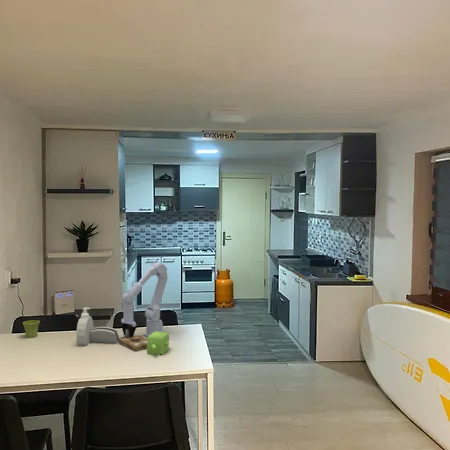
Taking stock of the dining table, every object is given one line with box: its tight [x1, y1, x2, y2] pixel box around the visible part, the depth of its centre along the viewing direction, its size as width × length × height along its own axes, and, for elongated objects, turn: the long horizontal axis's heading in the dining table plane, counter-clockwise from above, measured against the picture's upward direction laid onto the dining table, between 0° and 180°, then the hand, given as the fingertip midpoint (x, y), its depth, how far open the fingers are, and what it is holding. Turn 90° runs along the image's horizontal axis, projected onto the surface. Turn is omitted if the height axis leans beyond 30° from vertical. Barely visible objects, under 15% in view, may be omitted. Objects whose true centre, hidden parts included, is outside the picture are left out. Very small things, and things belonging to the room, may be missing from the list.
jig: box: [118, 335, 147, 352], centre depth 245 cm, size 13×18×3 cm
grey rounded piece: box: [90, 326, 121, 344], centre depth 251 cm, size 17×5×10 cm, turn 81°
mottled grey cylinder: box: [124, 328, 130, 339], centre depth 257 cm, size 4×4×6 cm
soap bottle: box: [75, 307, 95, 346], centre depth 250 cm, size 16×5×20 cm, turn 0°
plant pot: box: [22, 320, 41, 339], centre depth 262 cm, size 9×9×9 cm
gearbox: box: [146, 331, 170, 355], centre depth 233 cm, size 18×10×10 cm, turn 168°
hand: (128, 336), depth 257 cm, fingers open, 6 cm apart
